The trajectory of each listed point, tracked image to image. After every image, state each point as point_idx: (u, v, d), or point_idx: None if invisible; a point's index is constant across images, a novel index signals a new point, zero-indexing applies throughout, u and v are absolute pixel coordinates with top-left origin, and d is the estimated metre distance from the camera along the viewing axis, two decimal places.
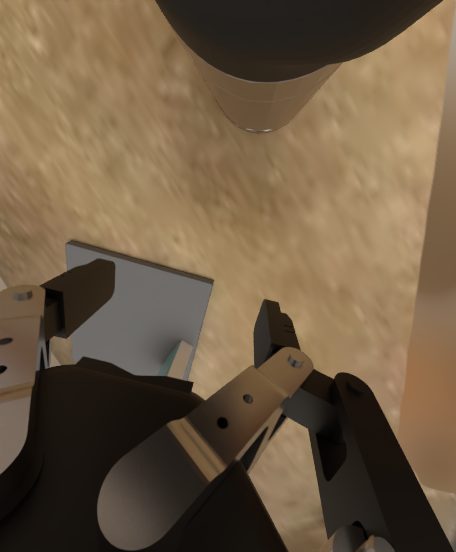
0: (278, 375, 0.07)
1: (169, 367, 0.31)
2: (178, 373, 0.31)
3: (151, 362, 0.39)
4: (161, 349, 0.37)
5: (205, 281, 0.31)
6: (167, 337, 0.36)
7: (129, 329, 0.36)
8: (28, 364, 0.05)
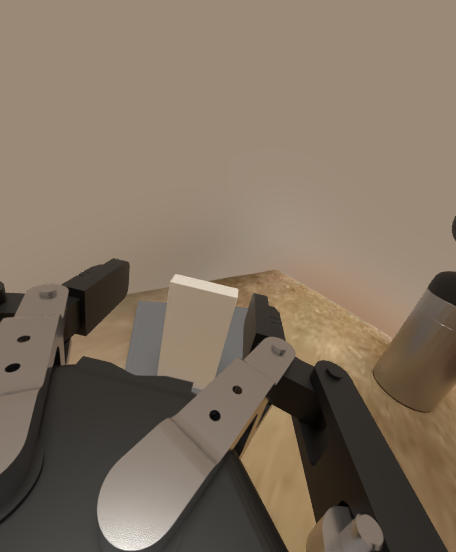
0: (263, 364, 0.07)
1: None
2: None
3: None
4: None
5: None
6: None
7: None
8: (40, 363, 0.05)
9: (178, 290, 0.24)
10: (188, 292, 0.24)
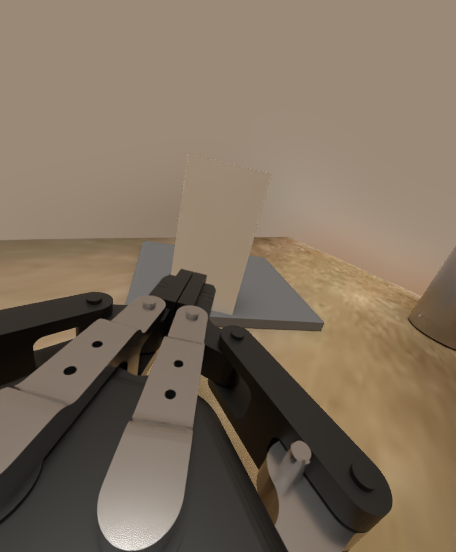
0: (186, 333, 0.08)
1: None
2: None
3: None
4: None
5: (318, 319, 0.29)
6: None
7: None
8: (90, 376, 0.05)
9: (198, 165, 0.19)
10: (210, 168, 0.19)
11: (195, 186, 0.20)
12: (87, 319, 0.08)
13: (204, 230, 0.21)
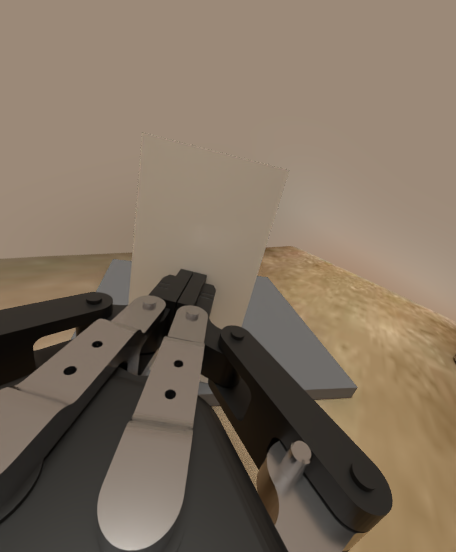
0: (186, 333, 0.08)
1: None
2: None
3: None
4: None
5: (347, 379, 0.20)
6: None
7: None
8: (90, 376, 0.05)
9: (160, 155, 0.11)
10: (182, 159, 0.11)
11: (158, 191, 0.12)
12: (87, 319, 0.08)
13: (176, 262, 0.13)
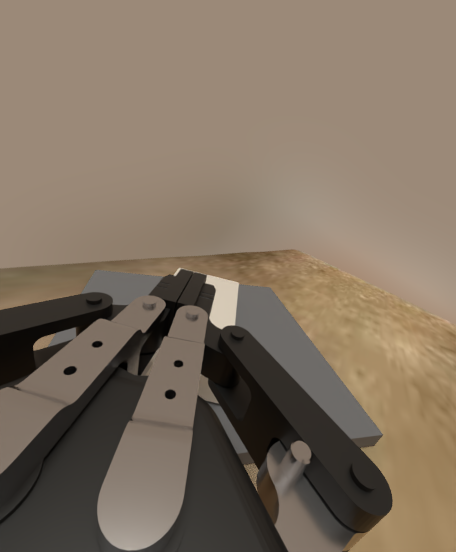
0: (186, 333, 0.08)
1: None
2: None
3: None
4: None
5: (369, 422, 0.17)
6: None
7: None
8: (89, 376, 0.05)
9: None
10: None
11: None
12: (87, 319, 0.08)
13: None
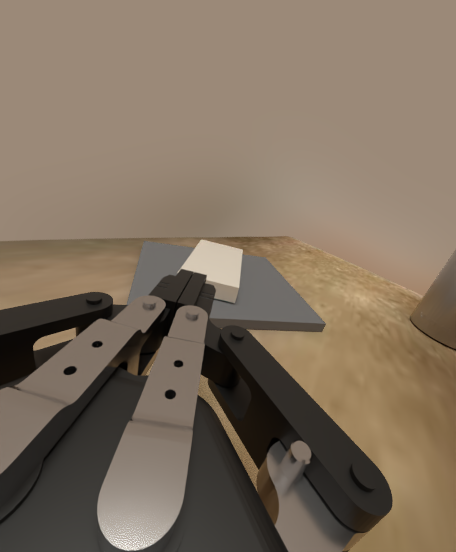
0: (186, 333, 0.08)
1: None
2: None
3: None
4: None
5: (320, 320, 0.29)
6: None
7: None
8: (89, 376, 0.05)
9: (206, 242, 0.38)
10: (212, 243, 0.38)
11: (204, 245, 0.36)
12: (87, 319, 0.08)
13: (210, 254, 0.33)
